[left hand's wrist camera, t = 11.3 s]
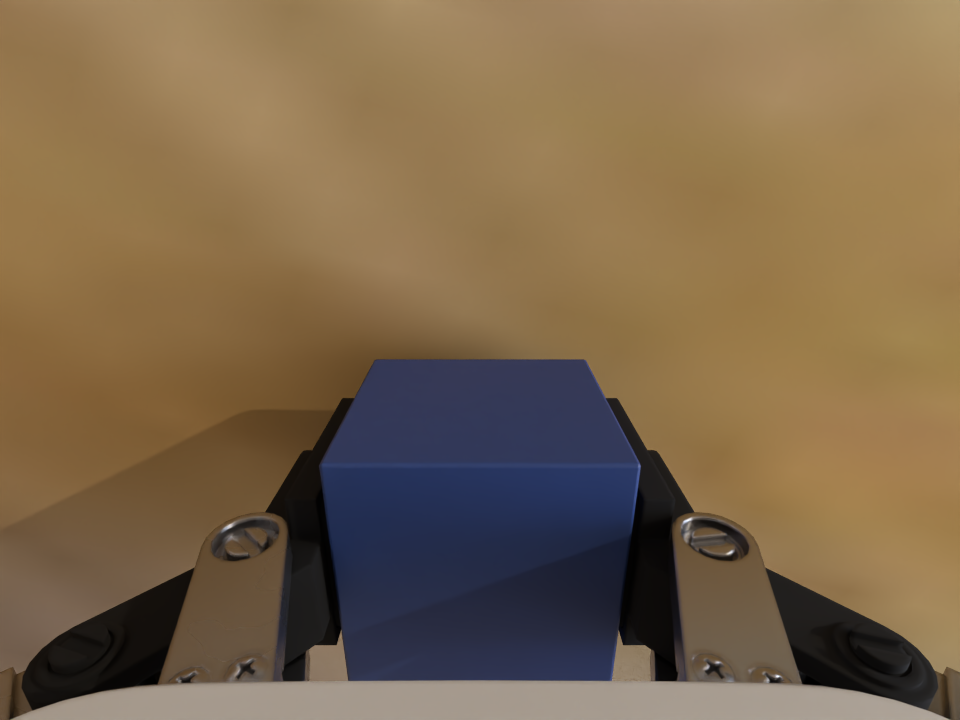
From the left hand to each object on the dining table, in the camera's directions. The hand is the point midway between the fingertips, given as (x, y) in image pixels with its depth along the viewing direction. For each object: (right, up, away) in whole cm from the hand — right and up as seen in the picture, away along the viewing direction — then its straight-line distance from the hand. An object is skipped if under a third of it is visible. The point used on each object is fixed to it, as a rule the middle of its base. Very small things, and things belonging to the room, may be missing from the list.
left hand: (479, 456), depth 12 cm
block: (0, 0, 0) cm, 0 cm away
